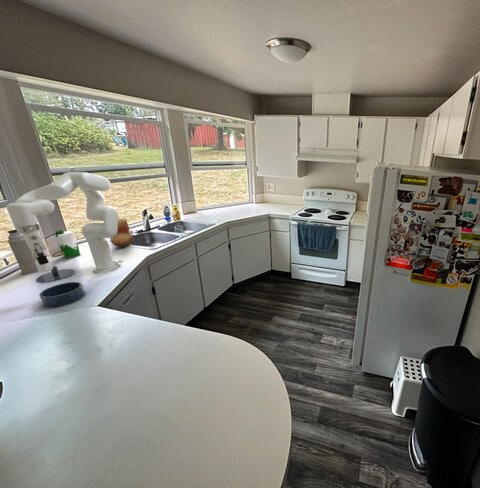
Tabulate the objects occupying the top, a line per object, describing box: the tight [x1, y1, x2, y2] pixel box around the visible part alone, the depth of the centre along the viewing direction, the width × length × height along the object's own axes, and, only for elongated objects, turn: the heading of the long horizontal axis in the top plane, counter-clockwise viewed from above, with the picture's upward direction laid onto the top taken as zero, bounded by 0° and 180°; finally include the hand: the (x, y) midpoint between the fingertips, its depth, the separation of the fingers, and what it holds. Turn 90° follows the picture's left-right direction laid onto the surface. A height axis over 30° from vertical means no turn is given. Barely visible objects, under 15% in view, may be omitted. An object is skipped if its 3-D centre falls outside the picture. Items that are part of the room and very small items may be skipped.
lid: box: [36, 265, 76, 283], centre depth 154 cm, size 17×17×7 cm
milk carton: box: [54, 229, 81, 259], centre depth 182 cm, size 9×9×20 cm
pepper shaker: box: [35, 253, 53, 273], centre depth 127 cm, size 4×4×10 cm
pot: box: [38, 281, 86, 308], centre depth 132 cm, size 16×16×6 cm
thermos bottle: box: [7, 229, 39, 275], centre depth 156 cm, size 8×8×28 cm
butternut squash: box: [110, 215, 134, 248], centre depth 200 cm, size 14×13×25 cm
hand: (42, 261), depth 127 cm, fingers closed on pepper shaker, 5 cm apart
